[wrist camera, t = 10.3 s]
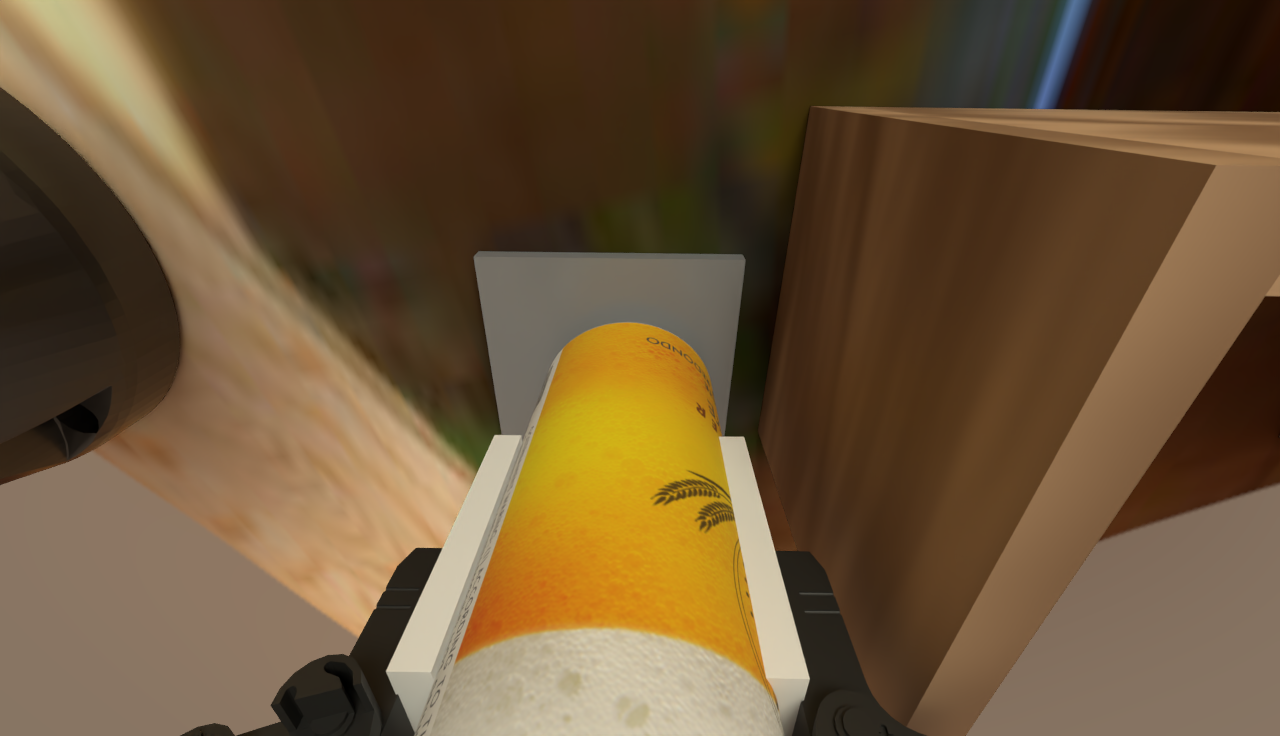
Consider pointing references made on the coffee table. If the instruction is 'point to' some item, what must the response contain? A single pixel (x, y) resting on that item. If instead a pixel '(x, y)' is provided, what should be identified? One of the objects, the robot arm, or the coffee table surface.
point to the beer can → (611, 564)
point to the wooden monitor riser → (996, 359)
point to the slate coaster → (601, 313)
